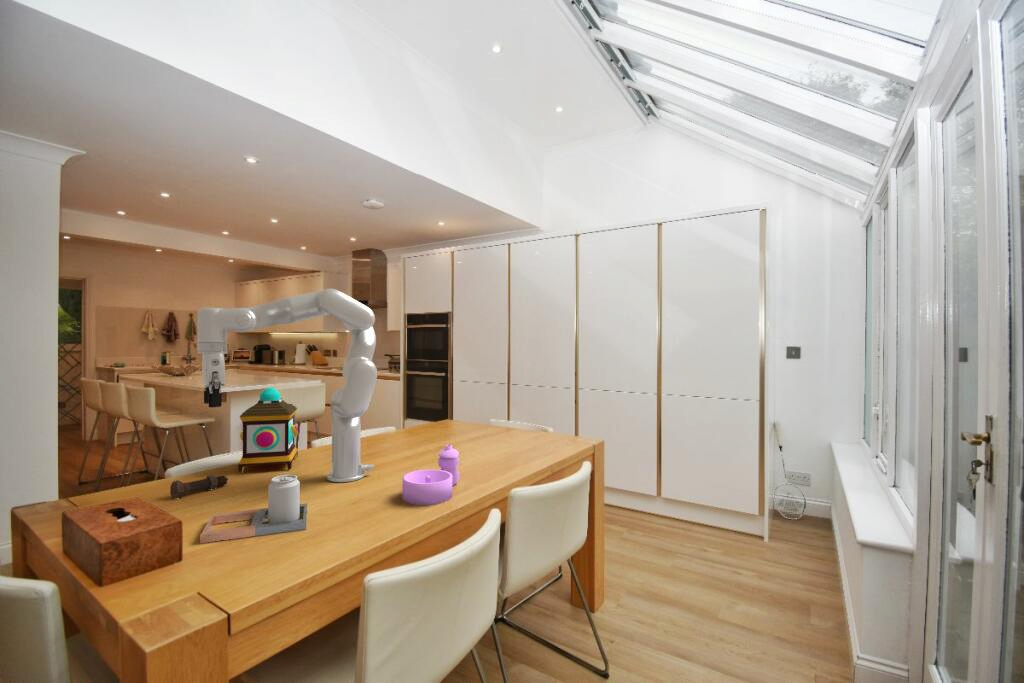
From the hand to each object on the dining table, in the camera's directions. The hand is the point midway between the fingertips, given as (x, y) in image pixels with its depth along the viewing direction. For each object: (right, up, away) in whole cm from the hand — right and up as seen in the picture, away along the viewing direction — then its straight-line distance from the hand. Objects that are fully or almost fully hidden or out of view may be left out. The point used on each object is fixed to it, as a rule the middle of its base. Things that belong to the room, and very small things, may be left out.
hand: (212, 405), depth 141 cm
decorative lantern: (-1, -28, +36) cm, 46 cm away
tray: (+25, -29, -19) cm, 42 cm away
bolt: (-8, -29, +6) cm, 30 cm away
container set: (+66, -29, +9) cm, 73 cm away
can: (+30, -29, -17) cm, 45 cm away
